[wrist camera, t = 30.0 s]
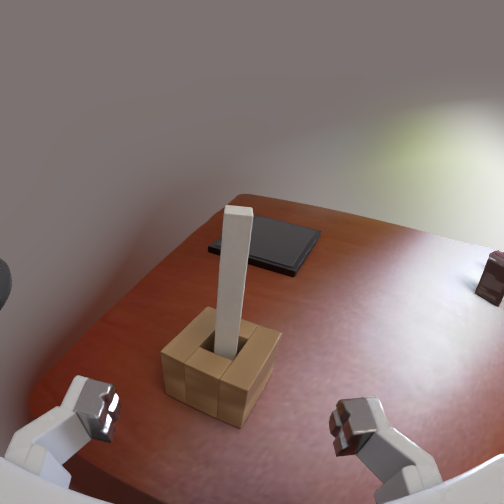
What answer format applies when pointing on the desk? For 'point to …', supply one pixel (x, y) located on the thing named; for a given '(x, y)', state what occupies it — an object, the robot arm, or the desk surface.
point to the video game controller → (498, 254)
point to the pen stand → (219, 368)
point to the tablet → (277, 245)
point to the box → (492, 280)
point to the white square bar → (232, 278)
